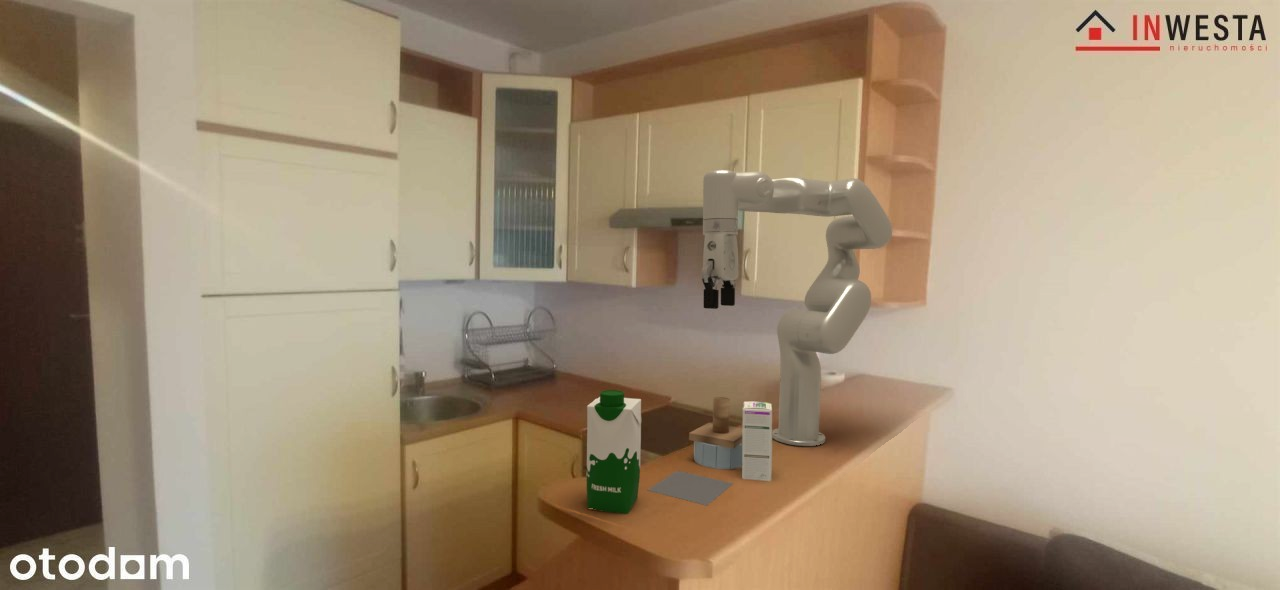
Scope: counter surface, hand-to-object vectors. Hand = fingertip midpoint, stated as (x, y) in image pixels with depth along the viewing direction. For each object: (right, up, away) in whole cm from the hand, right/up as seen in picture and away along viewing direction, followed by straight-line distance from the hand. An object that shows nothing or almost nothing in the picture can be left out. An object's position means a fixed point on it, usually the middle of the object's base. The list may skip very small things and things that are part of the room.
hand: (719, 306), depth 122 cm
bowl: (0, -33, -3) cm, 33 cm away
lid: (0, -28, -3) cm, 28 cm away
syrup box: (+6, -34, -11) cm, 36 cm away
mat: (-8, -34, -18) cm, 39 cm away
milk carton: (-22, -34, -26) cm, 48 cm away
